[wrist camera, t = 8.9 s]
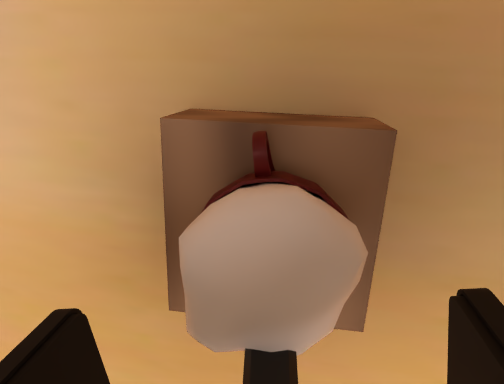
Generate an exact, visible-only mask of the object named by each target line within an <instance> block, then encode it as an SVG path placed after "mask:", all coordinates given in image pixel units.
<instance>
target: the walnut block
mask: <svg viewBox="0 0 504 384" xmlns="http://www.w3.org/2000/svg"><path fill="white" fill-rule="evenodd" d="M160 123H161V145H162V167H163V189H164V211H165V233H166V255H167V278H168V300H169V310H171V311H180V312H186V310H185V295H184V287H183V281H182V275H181V269H180V256H179V237H180V235H181V234H182V233H183V232H184V231H185V229H186V228H187V227H188V226H189V225H190V224H191V223H192V222H193V221H194V220H195V219H196V218H197V217H198V216H199V215H200V214H201V212H202V210H203V209H204V207H205V206H206V204H207V202H208V201H209V200H210V198H211V197H212V196H213V195H214V194H215V193H216V192H218V191H219V190H221V189H223V188H224V187H226V186H228V185H229V184H231V183H233V182H234V181H236V180H238V179H240V178H241V177H243V176H245V175H247V174H249V173H255V172H254V161H253V149H252V136H253V133H254V132H257V131H266V132H267V135H268V140H269V145H270V151H271V156H272V161H273V165H274V168H275V171H285V172H288V173H290V174H293V175H296V176H299V177H301V178H304V179H307V180H310V181H312V182H315V183H317V184H318V185H319V186H320V187H321V188H322V189H323V190H324V191H325V192H326V193H327V194H328V195H329V196H330V197H331V198H332V199H333V200H334V201H335V202H336V203H337V204H338V205H339V206H340V207H341V208H342V209H343V210H344V212H345V214H346V215H347V217H348V219H349V221H351V222H352V223H353V224H354V225H356V226H357V229H358V231H359V233H360V235H361V238H362V240H363V242H364V245H365V247H366V249H367V251H368V255H367V258H366V262H365V265H364V268H363V272H362V275H361V278H360V281H359V283H358V284H357V286H356V287H355V289H354V290H353V292H352V293H351V295H350V296H349V298H348V299H347V301H346V302H345V304H344V306H343V308H342V310H341V313H340V315H339V317H338V320H337V322H336V324H335V327H334V329H341V330H350V331H359V332H363V330H364V324H365V318H366V312H367V306H368V300H369V294H370V288H371V282H372V276H373V271H374V265H375V259H376V253H377V247H378V241H379V235H380V229H381V223H382V217H383V211H384V205H385V200H386V194H387V188H388V182H389V176H390V170H391V164H392V158H393V152H394V146H395V140H396V134H397V130H395V129H393V128H391V127H389V126H387V125H386V124H384V123H382V122H380V121H378V120H376V119H374V118H364V117H344V116H324V115H304V114H284V113H265V112H245V111H225V110H205V109H188V110H185V111H182V112H178V113H175V114H172V115H169V116H165V117H162V118H160Z"/></svg>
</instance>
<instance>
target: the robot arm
mask: <svg viewBox="0 0 504 384" xmlns="http://www.w3.org/2000/svg"><path fill="white" fill-rule="evenodd" d="M0 384H110V382H109V379H108V376H107V374H106V371H105V368H104V365H103V362H102V359H101V356H100V353H99V351H98V348H97V345H96V342H95V339H94V336H93V333H92V331H91V328H90V325H89V322H88V319H87V317H86V315H85V314H82V312H81V311H80V310H79V309H76V308H73V309H57V310H55V311H53V312H52V313H51V314H50V315H49V316H48V317H47V318H46V319H44V320H43V321H42V322H41V323H40V324H39V325H38V326H37V327H36V328H35V329H34V330H33V331H32V332H31V333H30V334H29V335H28V336H27V337H26V338H25V339H24V340H23V341H22V342H20V343H19V344H18V345H17V346H16V347H15V348H14V349H13V350H12V351H11V352H10V353H9V354H8V355H7V356H6V357H5V358H4V359H3V360H2V361H1V362H0ZM447 384H504V305H503V304H502V303H501V302H500V301H499V300H498V299H497V297H496V296H495V295H494V294H493V293H492V292H491V291H490V290H489V289H487V288H477V289H460V290H458V292H457V296H451V297H450V299H449V327H448V372H447Z"/></svg>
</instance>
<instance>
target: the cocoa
mask: <svg viewBox="0 0 504 384" xmlns="http://www.w3.org/2000/svg"><path fill="white" fill-rule="evenodd" d="M252 149H253V161H254V172H255V173H249V174H247V175H245V176H243V177H241V178H240V179H238V180H236V181H234V182H233V183H231V184H229V185H228V186H226V187H224V188H223V189H221V190H219V191H218V192H216V193H215V194H214V195H213V196H212V197H211V198H210V200H209V201H208V202H207V204H206V206H205V207H204V209H203V210H202V212H201V214H200V215H199V216H198V217H197V218H196V219H195V220H194V221H193V222H192V223H191V224H190V225H189V226H188V227H187V228H186V229H185V231H184V232H183V233H182V234H181V235H180V237H179V256H180V269H181V275H182V281H183V287H184V295H185V310H186V325H187V332H188V333H189V334H190V335H191V336H192V337H193V338H195V339H196V340H197V341H198V342H200V343H201V344H203V345H204V346H206V347H207V348H209V349H211V350H212V351H214V352H228V351H245V358H244V374H243V384H298V375H297V357H296V355H300V354H302V353H303V352H305V351H306V350H308V349H309V348H310V347H312V346H313V345H314V344H316V343H317V342H319V341H320V340H321V339H323V338H324V337H325V336H327V335H328V334H330V333H331V332H332V331H333V329H334V327H335V324H336V322H337V320H338V317H339V315H340V313H341V310H342V308H343V306H344V304H345V302H346V301H347V299H348V298H349V296H350V295H351V293H352V292H353V290H354V289H355V287H356V286H357V284H358V283H359V281H360V278H361V275H362V272H363V268H364V265H365V262H366V258H367V255H368V251H367V249H366V247H365V245H364V242H363V240H362V238H361V235H360V233H359V231H358V229H357V226H356V225H354V224H353V223H352V222H351V221H349V219H348V217H347V215H346V214H345V212H344V210H343V209H342V208H341V207H340V206H339V205H338V204H337V203H336V202H335V201H334V200H333V199H332V198H331V197H330V196H329V195H328V194H327V193H326V192H325V191H324V190H323V189H322V188H321V187H320V186H319V185H318V184H317V183H315V182H312V181H310V180H307V179H304V178H301V177H299V176H296V175H293V174H290V173H288V172H285V171H275V168H274V165H273V161H272V156H271V151H270V145H269V140H268V135H267V132H266V131H257V132H254V133H253V136H252Z"/></svg>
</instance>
